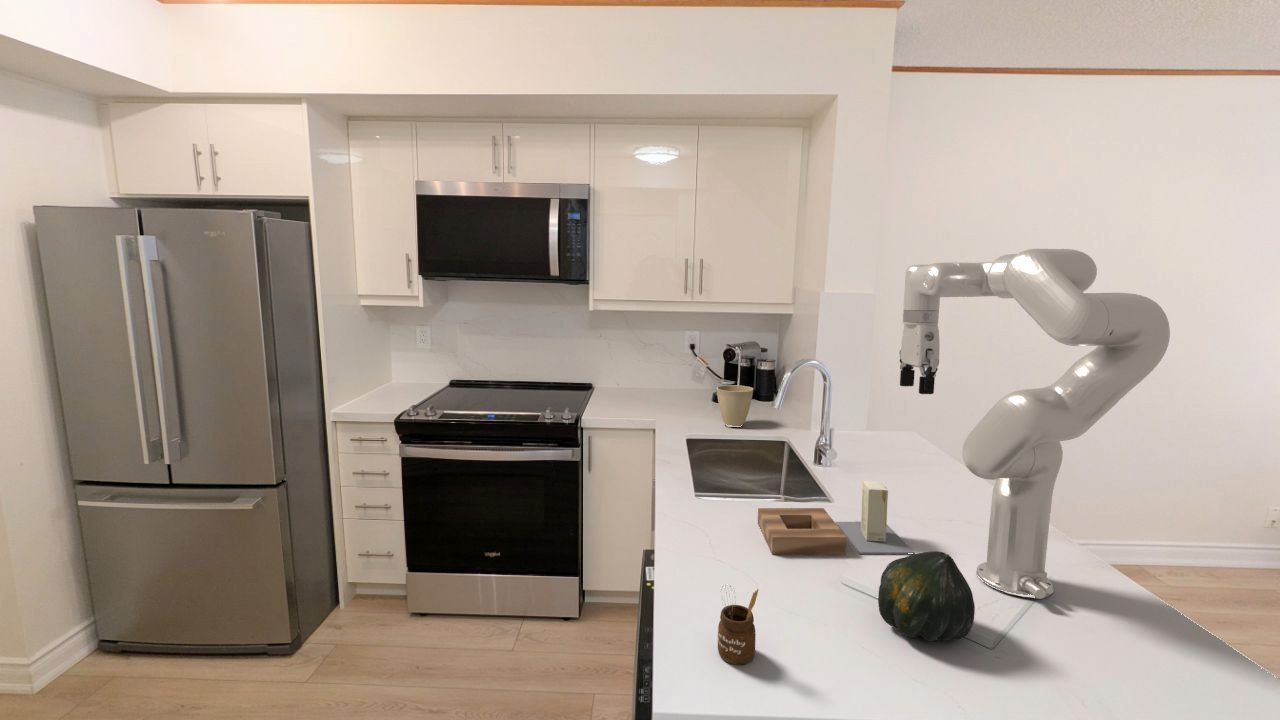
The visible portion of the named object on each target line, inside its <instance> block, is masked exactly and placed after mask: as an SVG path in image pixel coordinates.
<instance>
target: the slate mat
mask: <svg viewBox="0 0 1280 720" xmlns="http://www.w3.org/2000/svg"><path fill="white" fill-rule="evenodd" d="M834 522H835V523H836V525H837V526H838V527H839V528H840V530H841V531H842V532H843V533H844V535H845V536H846V540H847V541H848V542H849V543H850V544H851V546H852V547H853V548H854V549H855V551H856V553H857V554H858V555H865V556H866V555H867V556H868V555H871V556H873V555H876V554H878V555H879V556H880V555H881V554H908V553H913V554H916V553H915V551H914V550H913V549H912V548H911V547H910V546H909V545H908V544H907V543H906V542H905V541H904V540H903V539H902V538H901V537H900V536H899V535H898V534H897V533H896V532H895V530H894V529H892V528H891V526H889V525H888V523H886V541H885V542H883V541H867V540H866V539H865V537H864V535H863V533H862V532H861V521H834ZM876 556H877V555H876Z"/></svg>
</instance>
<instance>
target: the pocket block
mask: <svg viewBox="0 0 1280 720" xmlns="http://www.w3.org/2000/svg"><path fill="white" fill-rule="evenodd" d="M835 522H836V521H834V519H833V518H832V517H831V516H830V515H829V513H828V512H827V510H826V509H825V508H824V507H803V508H802V507H758V508H757V525H758V527H760V528H759V529H761V530H760V532H761V534H762V536H763V538H764V540H765V543H766V545H767V546H768V550H769V551H770V553H771V555H774V556H775V555H779V556H781V555H783V556H784V555H785V556H786V555H792V556H793V555H794V556H795V555H802V556H803V555H807V556H809V555H812V556H813V555H827V556H828V555H839V556H840V555H842V556H843V555H846V554H847V553H846V551H847V538H846V536H845V535H844V533H843V532H842V531H841V530H840V528H839V527H838V526H837V525H836V523H835Z"/></svg>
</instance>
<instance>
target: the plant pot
mask: <svg viewBox="0 0 1280 720" xmlns="http://www.w3.org/2000/svg"><path fill="white" fill-rule="evenodd" d="M753 394H754V387H750V386H747V385H746V386H745V385H740V384H739V385H736V384H735V385H732V384H728V385H726V384H725V385H719V386H716V396H717V402H718V406H719V411H720V415H721V418H722V421H723V424H724V423H725V424H727V425H732V426H741V425H743V424H745V422H746V420H747V417H748V415H749V411H750V408H751V403H752V401H753V400H752V399H753ZM743 426H744V425H743Z"/></svg>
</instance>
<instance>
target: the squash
mask: <svg viewBox="0 0 1280 720" xmlns="http://www.w3.org/2000/svg"><path fill="white" fill-rule="evenodd" d="M877 595H878V597H877V598H878V599H877V603H878V609H879V613H880V616H881V618H882V620H883V621H884V622H885V623H886V624H887V625H888V626H890V627H892V628H894V629H897V630H898V631H899V632H900V633H901V635H903V636H907V637H909V638H916V637H918V636H921V637H922V638H923V640H925V641H928V642H936V640H937V641H948V640H952V641H955V640H961V639H963V638H965V637H966V636H968V635H969V634H970V633H971V630H972V628H973V625H974V622H975V621H974V620H975V614H976V613H975V612H976V611H975V609H976V607H975V601H974V596H973V591H972V590H971V587H970V584H969V583H968V581H967V580H966V578H965V576H964V575H963V573H962V572H961V570H960V569H959V567H958V565H957V564H956V562H955V560H954V559H953V558H952V556H950V554H948V553H946V552H944V551H938V550H936V551H935V550H933V551H925V552H918V553H915V554H914V555H907V556H904V557H900V558H898V559H895V560H892V561H890V562H889V563H888V564H887V565H886V566H885V569H884V570H883V572H882V573H881V576H880V585H879V587H878V594H877Z"/></svg>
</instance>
